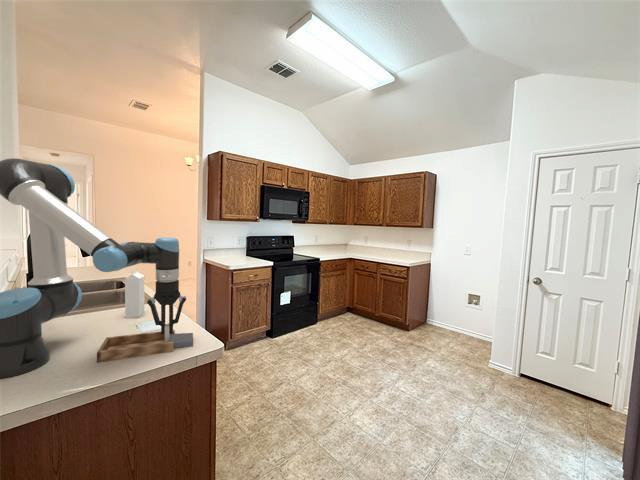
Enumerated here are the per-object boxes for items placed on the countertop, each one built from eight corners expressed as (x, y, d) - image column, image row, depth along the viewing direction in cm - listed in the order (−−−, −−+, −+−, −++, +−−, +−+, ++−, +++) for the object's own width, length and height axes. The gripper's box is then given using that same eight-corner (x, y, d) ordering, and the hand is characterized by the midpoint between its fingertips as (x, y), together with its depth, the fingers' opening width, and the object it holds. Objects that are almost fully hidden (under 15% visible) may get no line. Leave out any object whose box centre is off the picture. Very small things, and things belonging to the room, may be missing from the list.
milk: (144, 313, 137) (145, 269, 135) (139, 318, 131) (139, 271, 129) (130, 313, 136) (130, 268, 134) (124, 318, 130) (125, 271, 128)
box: (96, 364, 91) (96, 352, 91) (106, 347, 102) (106, 337, 102) (173, 353, 101) (173, 342, 100) (174, 339, 111) (174, 329, 111)
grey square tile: (168, 349, 102) (168, 342, 102) (169, 339, 109) (170, 333, 109) (192, 347, 105) (193, 341, 105) (192, 338, 112) (192, 332, 112)
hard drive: (135, 323, 122) (141, 332, 113) (156, 319, 128) (164, 328, 119) (135, 327, 123) (141, 336, 113) (156, 322, 128) (164, 331, 119)
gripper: (145, 283, 97) (145, 349, 99) (187, 281, 102) (186, 343, 104) (148, 278, 103) (148, 340, 105) (187, 276, 109) (186, 335, 111)
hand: (167, 341), depth 105 cm, fingers closed
